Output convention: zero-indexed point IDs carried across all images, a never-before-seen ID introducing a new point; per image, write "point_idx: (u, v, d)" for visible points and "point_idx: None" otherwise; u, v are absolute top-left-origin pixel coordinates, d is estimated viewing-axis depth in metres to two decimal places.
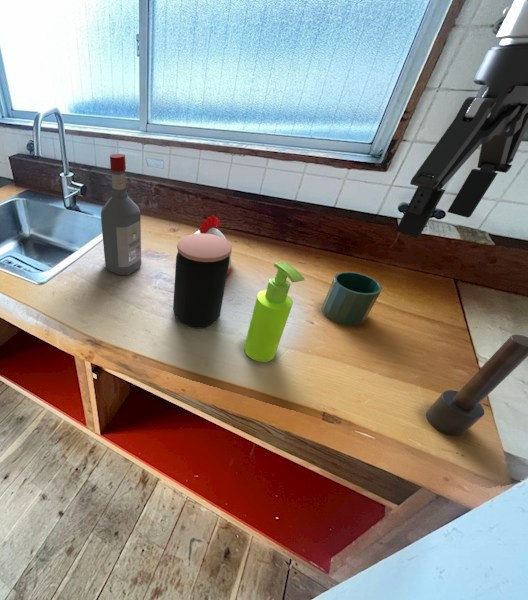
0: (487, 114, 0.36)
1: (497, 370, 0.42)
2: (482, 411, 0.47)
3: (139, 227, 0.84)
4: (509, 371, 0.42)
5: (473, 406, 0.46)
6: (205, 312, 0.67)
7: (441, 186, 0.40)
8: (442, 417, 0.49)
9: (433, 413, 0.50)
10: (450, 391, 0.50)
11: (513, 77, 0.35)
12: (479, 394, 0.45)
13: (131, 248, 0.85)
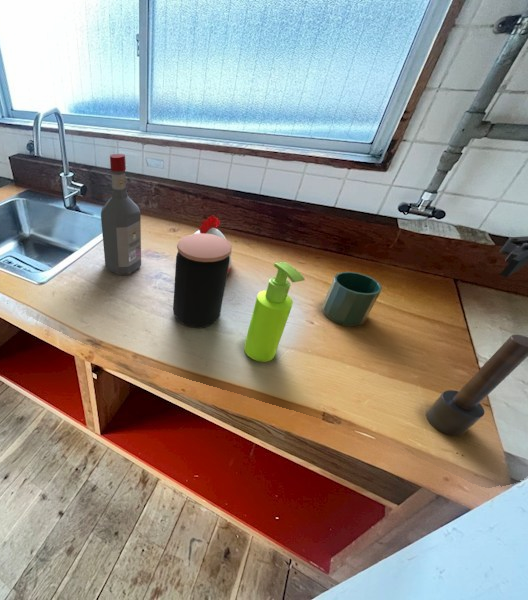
0: None
1: (497, 370, 0.42)
2: (482, 411, 0.47)
3: (139, 227, 0.84)
4: (509, 371, 0.42)
5: (473, 406, 0.46)
6: (205, 312, 0.67)
7: (527, 243, 0.48)
8: (442, 417, 0.49)
9: (433, 413, 0.50)
10: (450, 391, 0.50)
11: None
12: (479, 394, 0.45)
13: (131, 248, 0.85)
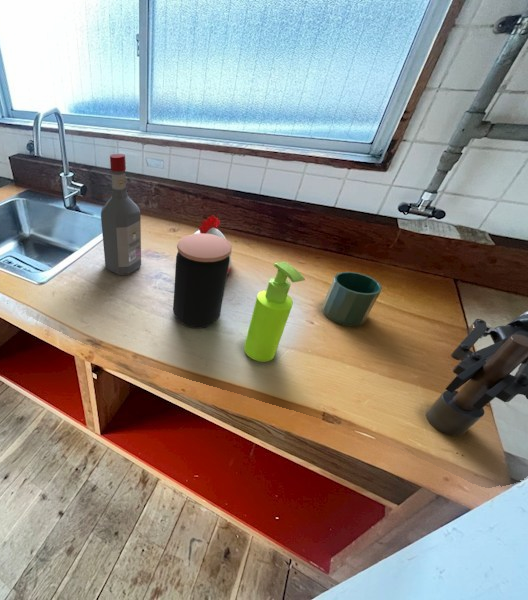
0: (483, 324, 0.51)
1: (497, 370, 0.42)
2: (481, 411, 0.47)
3: (139, 227, 0.84)
4: (509, 371, 0.42)
5: None
6: (205, 313, 0.67)
7: (476, 354, 0.46)
8: (442, 417, 0.49)
9: (433, 413, 0.50)
10: None
11: (510, 322, 0.52)
12: (479, 394, 0.45)
13: (131, 248, 0.85)
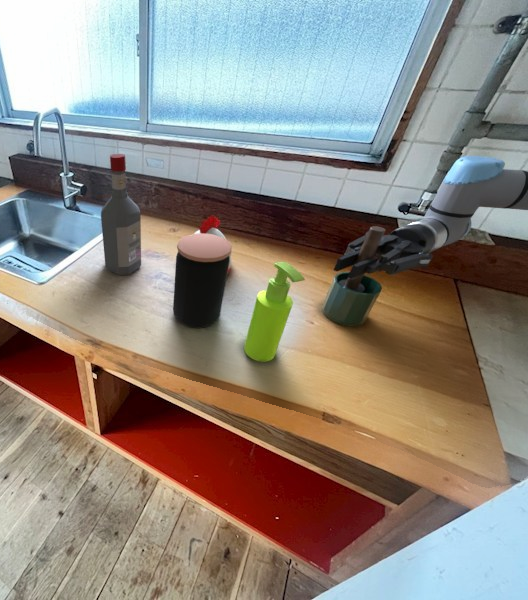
0: None
1: (365, 252, 0.63)
2: (362, 289, 0.67)
3: (139, 227, 0.84)
4: (371, 252, 0.62)
5: (356, 285, 0.67)
6: (205, 313, 0.67)
7: (357, 248, 0.66)
8: None
9: None
10: (345, 280, 0.70)
11: None
12: None
13: (131, 248, 0.85)
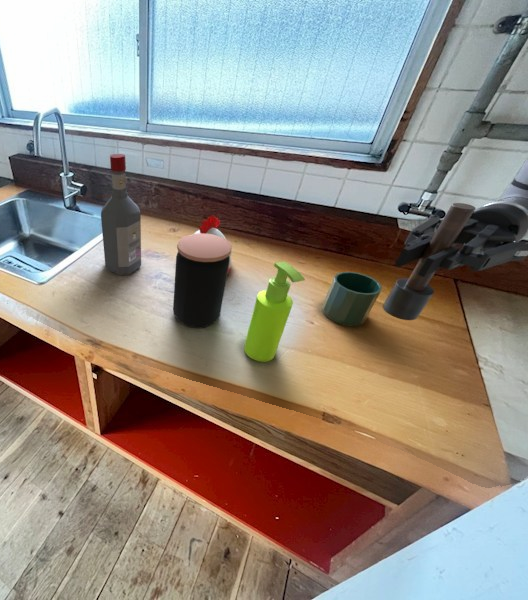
0: (436, 218, 0.53)
1: (441, 240, 0.45)
2: (431, 291, 0.49)
3: (139, 227, 0.84)
4: (451, 240, 0.44)
5: (423, 285, 0.49)
6: (205, 313, 0.67)
7: (425, 235, 0.48)
8: (396, 302, 0.51)
9: (389, 300, 0.53)
10: (404, 279, 0.52)
11: None
12: None
13: (131, 248, 0.85)
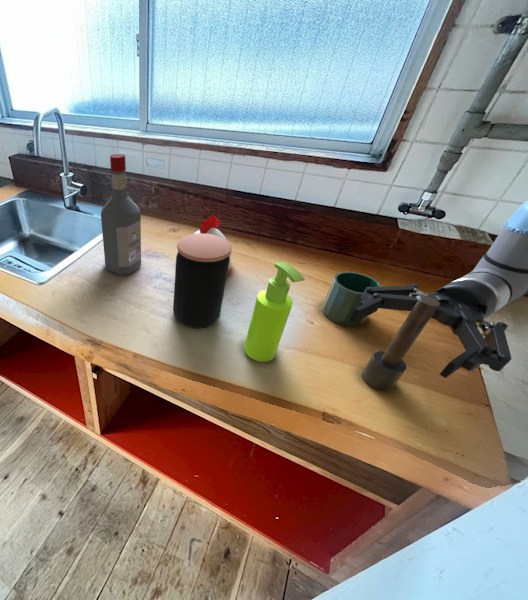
0: (412, 287, 0.59)
1: (411, 328, 0.49)
2: (404, 367, 0.54)
3: (139, 227, 0.84)
4: (420, 328, 0.49)
5: (396, 362, 0.53)
6: (205, 313, 0.67)
7: (376, 293, 0.57)
8: (372, 374, 0.56)
9: (366, 371, 0.57)
10: (380, 352, 0.57)
11: (437, 290, 0.58)
12: (399, 351, 0.52)
13: (131, 248, 0.85)
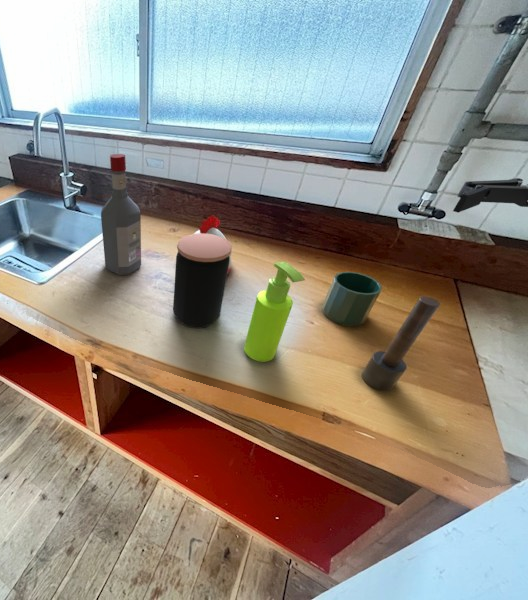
0: (516, 180, 0.54)
1: (411, 328, 0.49)
2: (404, 367, 0.54)
3: (139, 227, 0.84)
4: (420, 328, 0.49)
5: (396, 362, 0.53)
6: (205, 313, 0.67)
7: (479, 185, 0.53)
8: (372, 374, 0.56)
9: (366, 371, 0.57)
10: (380, 352, 0.57)
11: None
12: (399, 351, 0.52)
13: (131, 248, 0.85)
